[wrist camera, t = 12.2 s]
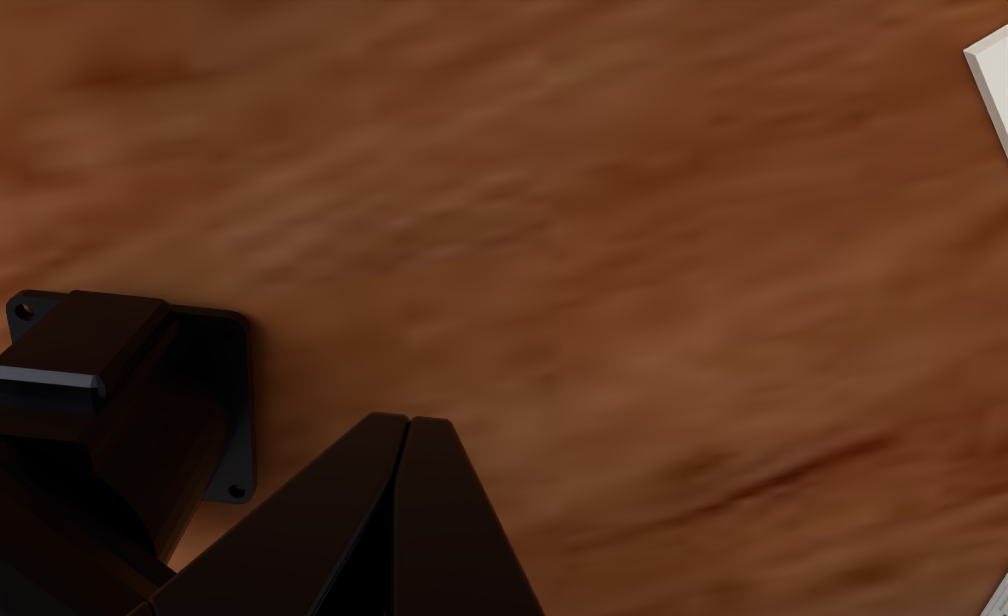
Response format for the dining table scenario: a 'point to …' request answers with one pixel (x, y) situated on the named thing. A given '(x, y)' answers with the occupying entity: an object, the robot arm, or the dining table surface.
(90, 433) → the robot arm
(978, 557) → the dining table surface
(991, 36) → the label plate
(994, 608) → the light bulb box
